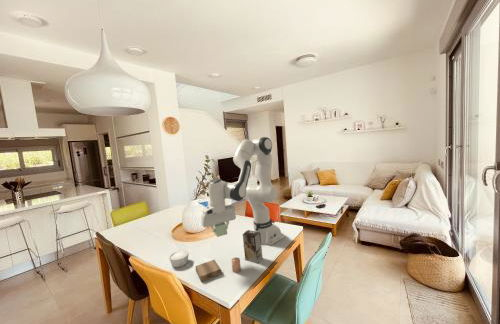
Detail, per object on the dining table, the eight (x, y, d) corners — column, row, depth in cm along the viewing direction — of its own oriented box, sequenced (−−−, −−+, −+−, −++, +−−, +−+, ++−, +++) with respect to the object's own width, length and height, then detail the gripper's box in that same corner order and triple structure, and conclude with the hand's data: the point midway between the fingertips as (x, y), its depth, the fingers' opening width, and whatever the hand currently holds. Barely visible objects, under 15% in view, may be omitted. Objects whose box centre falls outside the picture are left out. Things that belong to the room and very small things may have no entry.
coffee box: (263, 258, 125) (260, 232, 123) (257, 263, 120) (255, 236, 118) (250, 254, 130) (248, 229, 129) (244, 259, 125) (242, 234, 123)
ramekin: (173, 259, 133) (172, 251, 132) (191, 256, 134) (190, 249, 133) (167, 269, 122) (166, 261, 121) (187, 267, 123) (186, 258, 122)
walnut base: (214, 264, 123) (214, 259, 122) (221, 274, 113) (220, 268, 113) (196, 271, 118) (195, 266, 118) (201, 281, 108) (200, 276, 108)
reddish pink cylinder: (238, 266, 119) (237, 256, 118) (242, 270, 114) (241, 260, 114) (231, 269, 117) (230, 259, 116) (234, 273, 112) (233, 263, 112)
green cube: (223, 230, 128) (222, 221, 127) (227, 234, 122) (226, 224, 122) (214, 233, 125) (213, 223, 124) (217, 237, 120) (216, 226, 119)
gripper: (232, 202, 130) (234, 224, 131) (199, 209, 120) (202, 233, 122) (236, 204, 124) (238, 227, 125) (202, 212, 115) (204, 237, 116)
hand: (220, 230), depth 123 cm, fingers closed on green cube, 6 cm apart
